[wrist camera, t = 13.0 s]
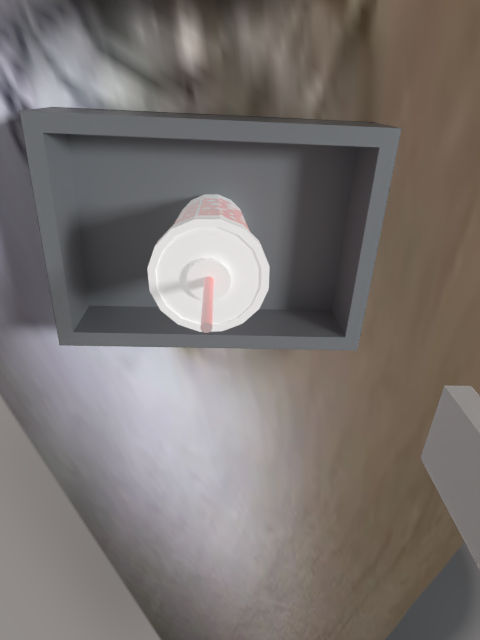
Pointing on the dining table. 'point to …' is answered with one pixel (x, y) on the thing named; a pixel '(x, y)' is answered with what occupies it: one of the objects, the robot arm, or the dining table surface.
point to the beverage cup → (209, 267)
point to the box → (194, 181)
